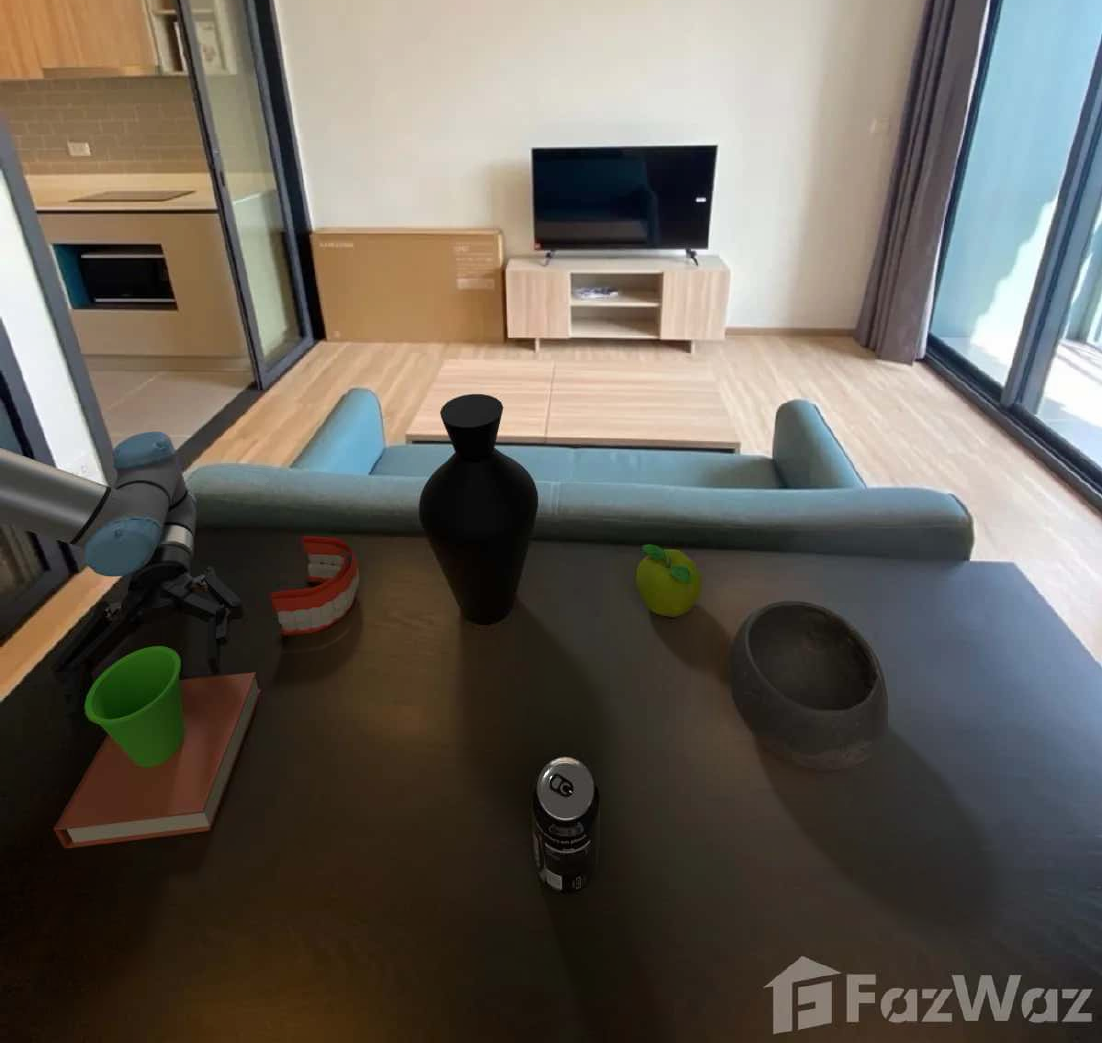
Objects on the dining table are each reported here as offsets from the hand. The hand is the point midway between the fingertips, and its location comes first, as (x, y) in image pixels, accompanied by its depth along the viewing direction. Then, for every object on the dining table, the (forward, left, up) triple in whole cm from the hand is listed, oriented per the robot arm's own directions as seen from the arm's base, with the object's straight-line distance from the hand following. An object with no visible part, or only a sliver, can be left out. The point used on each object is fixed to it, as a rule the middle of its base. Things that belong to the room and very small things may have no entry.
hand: (147, 692), depth 68 cm
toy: (+10, +23, -12) cm, 28 cm away
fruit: (+63, +24, -12) cm, 69 cm away
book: (0, 0, -12) cm, 12 cm away
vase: (+35, +24, -12) cm, 44 cm away
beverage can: (+48, -8, -12) cm, 50 cm away
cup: (0, -1, -8) cm, 8 cm away
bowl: (+77, +7, -12) cm, 79 cm away
